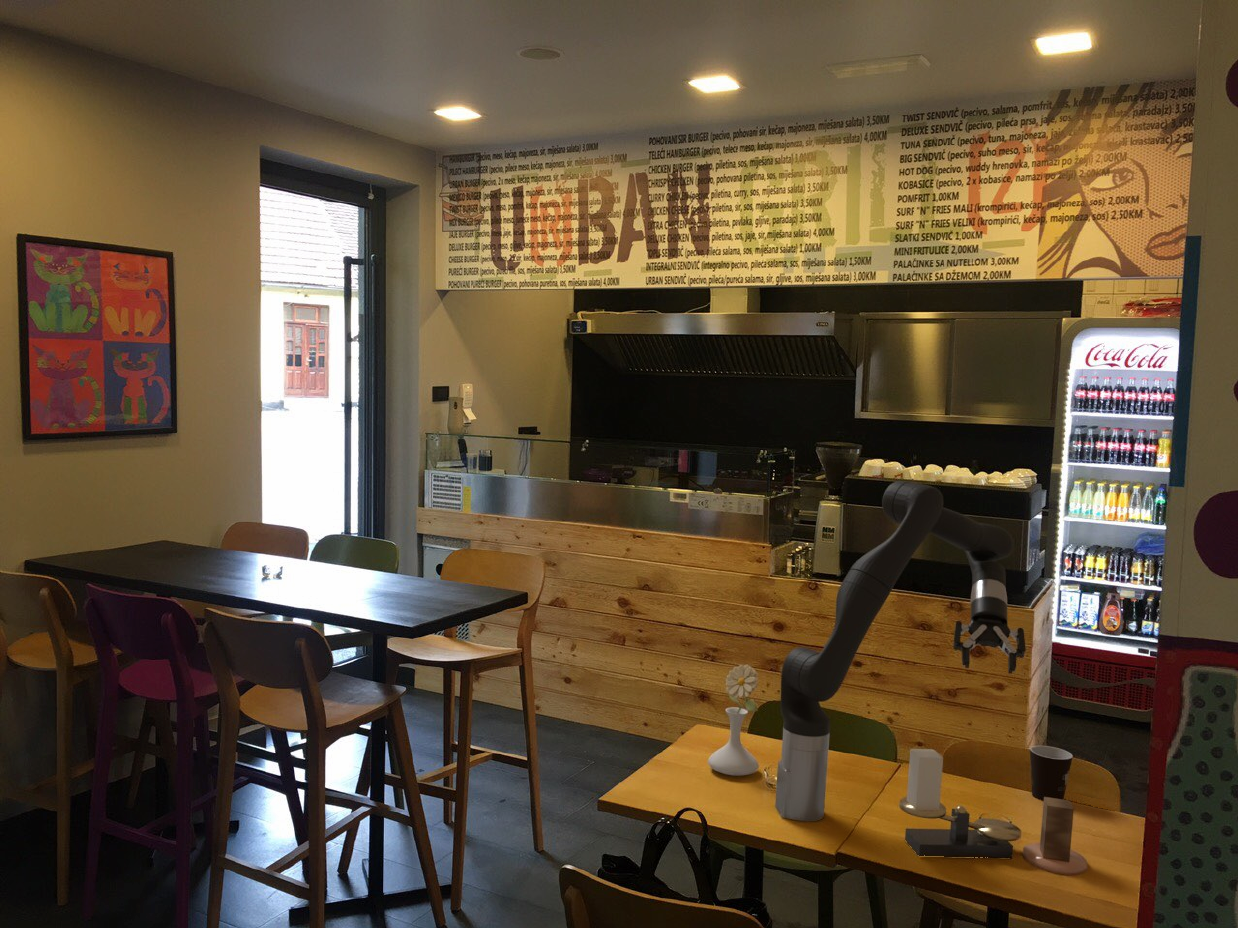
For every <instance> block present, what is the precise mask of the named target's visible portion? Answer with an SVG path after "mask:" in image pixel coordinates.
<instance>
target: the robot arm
mask: <svg viewBox="0 0 1238 928" xmlns="http://www.w3.org/2000/svg"><path fill="white" fill-rule="evenodd" d="M881 504H882V505H881V507H882V510H883V513H884V514H885V516H886V517H887V518H888V519H889V520H890V521H892V522H894V523H897V524H899V525H898V527H897V529H896V530H895V531H894V532H893V533H892V534H891V536H889V538H888V539H886V540H885V541H883V542H882V543H881V544H879V545H877V546H876V547H874V548H872V549H871V550H869V551H868V552H867V553H865V554H864V555H862V556H861V557H860V558H859V559H857V560H856V561H855V562H854V563H853V564H852V566H851V567H850V568H849V571H848V572H847V574H846V576H845V577H844V579H843V581H842V582H841V584H840V586H839V587H838V590H837V594H836V599H835V600H836V601H835V621H834V626H833V629H832V632H831V634H830V637H829V638H828V639H827V642H826V643H825V645H824V647H823V648H822V650H820V651H816V650H814V649H810V648H807V647H802V646H801V647H796V648H794V649H792V650H791V651H790V652H789V653H788V654H787V655H786V657H785V659H784V661H783V664H782V669H781V673H780V674H781V676H780V712H781V715H782V719H783V727H782V742H781V759H780V760H778V762H777V773H776V784H775V785H776V787H775V801H774V802H775V803H774V806H775V809H776V810H777V811H778V813H779V815H780V816H781V818H783V819H791V820H793V821H794V820H795V821H799V822H816V821H819V820H822V819H823V818H824V815H825V807H826V806H825V805H826V804H825V803H826V792H827V791H826V790H827V777H828V760H829V759H828V758H829V747H830V733H831V732H830V731H831V721H830V717H829V715H828V714H827V713H826V712H825V711H824V709H823V708H822V706H821V704H820V703H823V702H826V701H829V700H830V699H832V698H833V697H834V696H835V694H837V692H838V691H839V690H840V688H841V687H842V685H843V683H844V680H845V678H846V675H847V674H848V672H849V669H850V667H851V665H852V663H853V660H854V658H855V656H856V654H857V652H858V650H859V648H860V645H862V642H863V641H864V638H865V636H866V635H867V633H868V632H869V629H870V627H871V625H872V624H873V622H874V620H875V618H876V617H877V615H878V614H879V612H880V611H881V609H882V608H883V606H884V605H885V603H886V601H887V599H888V598H889V596H890V594H891V592H892V590H893V588H894V586H895V585H896V583H897V581H898V580H899V578H900V577H901V574H902V573H903V571H904V569H906V567H907V565H908V563H909V562H910V561H911V558H912V557H913V556H914V554H915V553H916V552H917V550H918V549H919V547H920V546H921V545H922V543H923V541H925V540H926V538H927V536H928V535H929V534H932V535H933V536H935V537H937V538H939V539H941V540H943V541H945V542H946V543H948V544H950V545H952V546H954V547H956V548H958V549H960V550H962V551H964V552H965V555H966V558H967V560H968V563H969V566H970V570H971V574H972V577H971V579H972V583H971V586H972V587H971V593H970V602H969V603H970V623H968V624H964V623H963V622H962V621H961V620H957V621H956V622H955V627H954V636H953V643H952V649H953V650H954V651H959V652H961V664H962V666H964V667H965V669H969V668H970V658H971V655H970V654H971V653H970V652H971V650H973V649H974V648H975V647H976V646H978V645H980V646H981V647H990V648H994V649H995V648H997V647H998V648H999V649H1000V650H1001V652H1002V653H1005V655H1006V656H1007V674H1011V675H1012V674H1013V672H1015V671H1016V669H1017V658H1020V659H1023V658H1024V657H1025V653H1026V651H1027V650H1026V639H1025V630H1024V629H1023V627H1018V628H1017V629H1010V628H1009V625H1008V596H1007V594H1008V593H1007V591H1006V590H1007V589H1006V587H1007V586H1006V585H1007V583H1006V582H1007V581H1006V574H1007V573H1006V570H1005V567H1004V566H1003V565H1002V564H1001V563H999V562H997V561H999V560H1002V559H1005V558H1008V557H1009V556H1010V555H1011V554H1012V553H1013V551H1014V547H1015V542H1014V540H1013V537H1012V536H1011V534H1010V532H1008V531H1007V530H1006V529H1004V528H1003V527H1001V526H999V525H994V524H988V523H983V522H978V521H976V520H974V519H972V518H970V517H969V516H966V515H964V514H962V513H960V512H957V511H955V510H953V509H948V508H947V507H944V496H943V494H942V492H941V490H940V489H938V488H937V487H934V486H931V485H927V484H923V483H917V482H914V481H908V480H906V481H905V480H898V481H894V482H892V483H890V484H889V485H888V487H887V488H886V489H885V491H884V493H883V496H882V499H881ZM965 632H968V634H969V635H970V636H969V637H968V639H967V640H966V641H964V642H963V641H961V638H962V637H961V636H963V635H964V634H965ZM1010 636H1011V637H1012V639H1013V640H1014V641H1015V642H1016V648H1015V646H1014V645H1013V644H1012V643H1011V640H1010V639H1009V637H1010Z"/></svg>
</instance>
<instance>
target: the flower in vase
mask: <svg viewBox="0 0 1238 928" xmlns="http://www.w3.org/2000/svg"><path fill="white" fill-rule="evenodd" d="M728 672H729V673H728V674H727V675H726V679H725V682H726V683H725V686H726V687H725V692H726V693H727V695H728V696H729V699H730V700H732V702H734V703H736V704H737V705H738V706H739V707H733V706H731V707H727V708H725V712H726V714H727V716H728V718H729V725H730V727H729V729H730V732H729V733H730V734H729V739H728V741H727V743H726V744H724V745H723V746H721V748H719V749H717V750H715V751H714V752H713V753H712V754H711V755H710V756H709V758H708V760H707V763H708V765H709V767H710V768H711V769H712V770H714V771H716V772H718V773H721V774H724V775H727V776H737V777H738V776H747V775H751V774H755V773H756V772H757V770H759V768H760V766H759V762H758V760H757V758H756V757H755V756H754V755H753V754H752V753H751V752H750V751H748V750H747V749H746V748H745V747H744V746H743V744H742V742H741V730H742V724H743V721H744V719H745V717H746V716H747V715H748V713H749V712H758V711H759V709H758V707H757V705H756V703H755V700H754V699H748V697H749V696H751V695H752V692H755V689H756V687H757V686H758V685H759V682H758V680H759V678H758V676H759V674H758V672H757V671H756V670H755V669H754V668H753V667H752V666H750V665H749V664H745V665H743V664H739V666H734V667H733V669H732V670H729V671H728ZM741 698H743V699H744V701H743V703H742V704H741V703H740V702H739V700H740V699H741ZM744 706H745V708H743V707H744Z"/></svg>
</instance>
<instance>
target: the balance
mask: <svg viewBox="0 0 1238 928" xmlns="http://www.w3.org/2000/svg"><path fill="white" fill-rule="evenodd" d="M899 808H900V810H901V811H903V812H905V814H908V815H910V816H914V817H918V818H922V819H932V820H935V819H940V820H944V821H948V822H950V828H948V829H947V828H945V829H944V828H910V827H909V828H908V827H907V828H906V827H905V836H904V841H905V840H906V841H907V843H908V844H909V845H910V846H911V847H912V849H913V850H914V851H915V852H916V854H917V855H919V856H924V855H925V856H944V857H974V858H973V859H975V857H978V858H980V857H983V858H985V857H986V858H987V857H988V858H1010V859H1009V860H1012V859H1013V853H1014V852H1013V851H1014V845H1013V844H1012V843H1011V842H1016V841H1019V840H1021V837H1022V829H1020V828H1019V827H1018V826H1017V825H1016V824H1013V823H1011V822H1008V821H1005V820H1002V819H997V818H988V817H987V818H980V819H976V820H975V821H974V822H972V821H970V812H968V811H967V809H966V808H965V806H963V805H957V806H956V807H955V808H951V815H950V814H949V815H948V814H947V808H946V805H944V804H943V803H941V802H940V806H939V810H915V808H914V807H913V806H912V805H911V804H910V803H909V802H908V801H907V796H906V797H905V796H904V797H902V798H901V799H899ZM969 828H970V829H969ZM907 843H906V844H907ZM908 844H907V845H908ZM909 845H908V846H909ZM912 849H911V850H912ZM913 850H912V851H913ZM914 851H913V852H914ZM915 852H914V853H915ZM916 854H915V855H916ZM917 855H916V856H917Z"/></svg>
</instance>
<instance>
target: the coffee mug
mask: <svg viewBox="0 0 1238 928" xmlns="http://www.w3.org/2000/svg"><path fill="white" fill-rule="evenodd" d="M1029 754H1030V756H1029V757H1030V779H1031V781H1030V782H1031V785H1030V786H1031V796H1032V797H1034V798H1035V799H1036V800H1038V801H1042V802H1044V797H1049V798H1056V799H1063V800H1065V794H1066V789H1067V785H1068V784H1067V783H1068V780H1069V775H1070V771H1071V768H1072V767H1071V765H1072V762H1073V757H1074V756H1073V754H1072V753H1071V752H1069V751H1067V750H1065V749H1062V748H1058V747H1054V746H1048V745H1034V746H1030V747H1029Z"/></svg>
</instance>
